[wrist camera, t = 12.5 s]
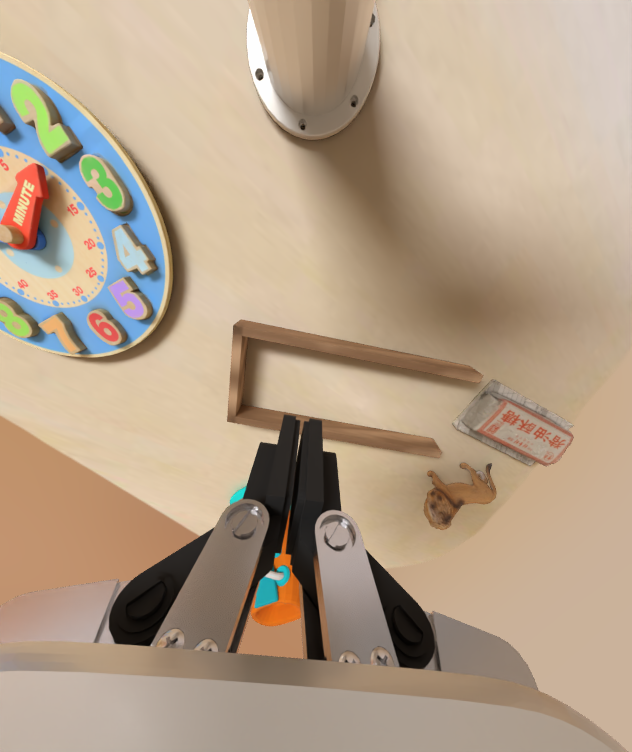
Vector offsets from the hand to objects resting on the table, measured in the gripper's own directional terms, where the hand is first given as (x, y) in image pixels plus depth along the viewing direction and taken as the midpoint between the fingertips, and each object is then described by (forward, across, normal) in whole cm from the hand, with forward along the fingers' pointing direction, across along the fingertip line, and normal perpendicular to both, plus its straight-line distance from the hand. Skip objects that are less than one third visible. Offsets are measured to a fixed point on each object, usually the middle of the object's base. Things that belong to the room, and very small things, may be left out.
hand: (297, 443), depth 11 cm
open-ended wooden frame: (+26, -8, +11) cm, 29 cm away
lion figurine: (+26, -31, +25) cm, 48 cm away
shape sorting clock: (+27, +34, -3) cm, 44 cm away
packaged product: (+27, -37, +12) cm, 47 cm away
